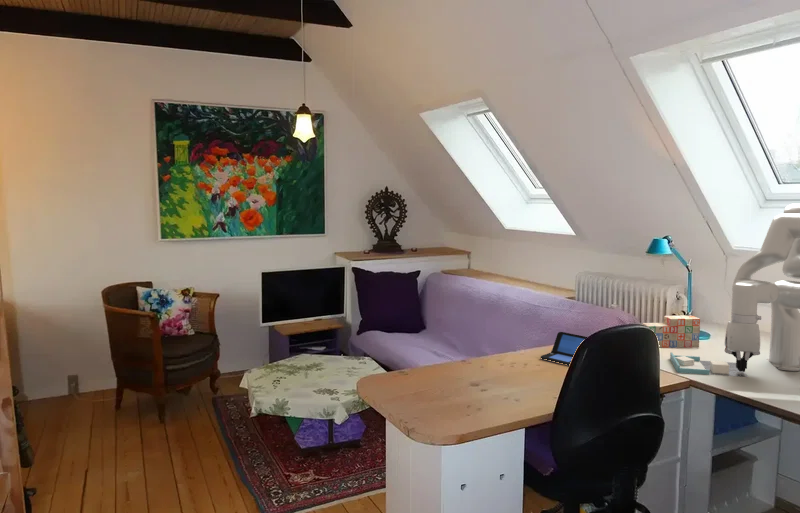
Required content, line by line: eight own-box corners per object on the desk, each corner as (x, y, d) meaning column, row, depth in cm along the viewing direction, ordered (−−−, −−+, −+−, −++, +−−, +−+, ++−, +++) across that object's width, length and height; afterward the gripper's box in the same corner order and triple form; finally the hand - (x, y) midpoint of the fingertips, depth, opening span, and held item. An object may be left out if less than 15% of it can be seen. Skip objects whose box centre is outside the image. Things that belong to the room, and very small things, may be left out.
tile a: (694, 367, 213) (694, 359, 213) (683, 368, 212) (684, 360, 212) (683, 363, 218) (684, 356, 218) (673, 365, 217) (674, 357, 217)
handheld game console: (539, 360, 229) (539, 336, 228) (558, 353, 238) (558, 330, 237) (574, 368, 217) (575, 344, 216) (593, 360, 226) (593, 337, 225)
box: (699, 364, 218) (699, 354, 218) (709, 378, 202) (709, 367, 201) (670, 362, 221) (670, 352, 220) (677, 376, 205) (677, 365, 204)
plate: (735, 366, 215) (735, 362, 214) (748, 381, 198) (748, 376, 198) (699, 364, 218) (699, 360, 218) (709, 378, 202) (709, 374, 202)
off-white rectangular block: (725, 369, 206) (726, 361, 206) (728, 373, 202) (729, 365, 202) (709, 369, 208) (710, 360, 207) (712, 372, 203) (713, 364, 203)
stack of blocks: (647, 348, 242) (648, 319, 241) (641, 344, 248) (642, 315, 247) (699, 347, 242) (700, 318, 240) (692, 343, 248) (693, 315, 246)
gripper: (765, 317, 202) (762, 368, 204) (717, 315, 206) (714, 365, 208) (772, 322, 195) (769, 375, 197) (722, 319, 199) (719, 372, 201)
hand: (741, 370), depth 203 cm, fingers closed
